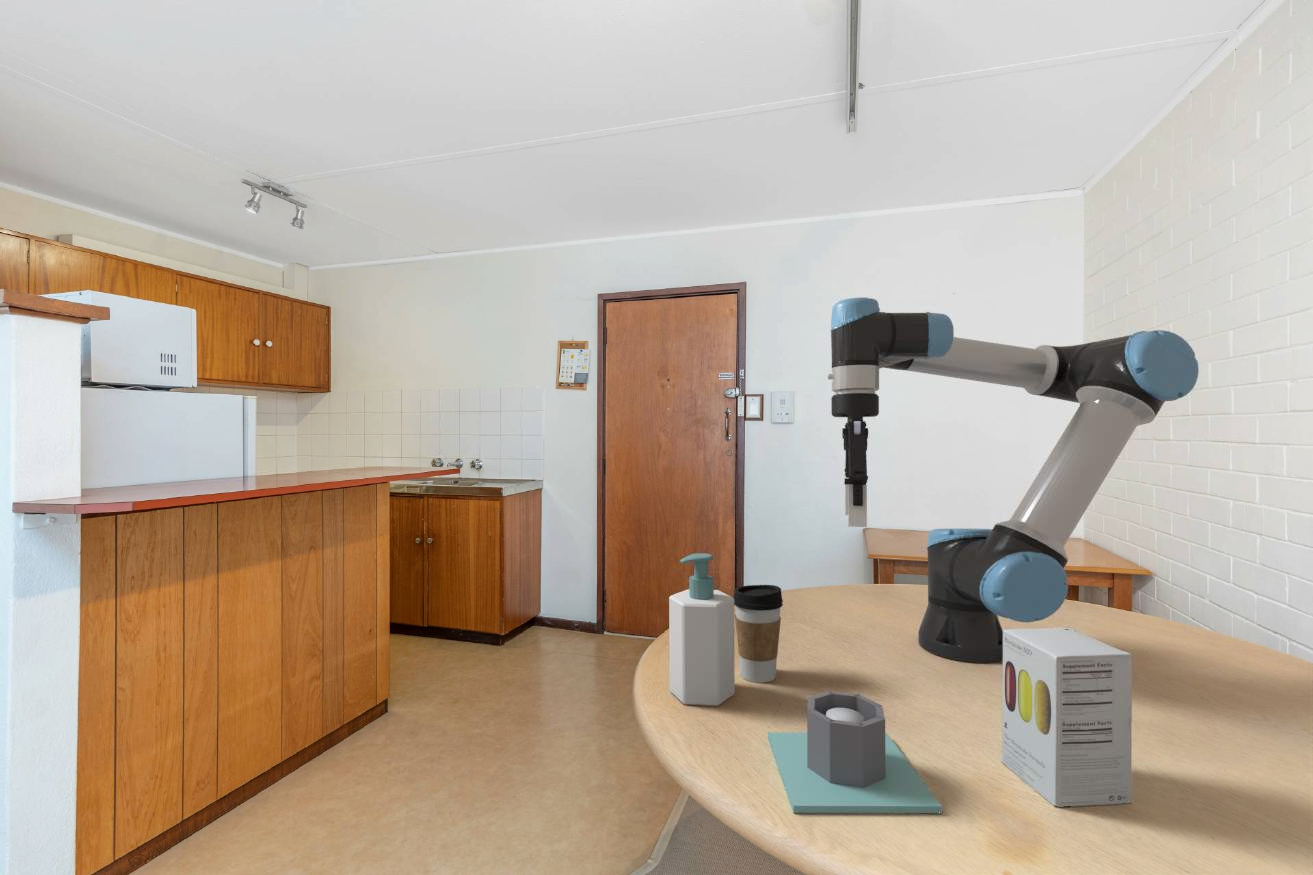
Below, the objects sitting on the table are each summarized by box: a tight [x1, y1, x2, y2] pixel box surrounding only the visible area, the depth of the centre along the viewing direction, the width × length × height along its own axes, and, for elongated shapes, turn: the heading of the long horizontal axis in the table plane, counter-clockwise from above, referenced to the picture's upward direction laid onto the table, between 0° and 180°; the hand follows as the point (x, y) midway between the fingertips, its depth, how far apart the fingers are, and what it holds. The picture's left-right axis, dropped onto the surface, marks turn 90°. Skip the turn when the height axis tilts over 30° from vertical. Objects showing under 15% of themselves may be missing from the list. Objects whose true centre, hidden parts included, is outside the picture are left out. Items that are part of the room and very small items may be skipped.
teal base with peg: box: [767, 708, 943, 815], centre depth 72 cm, size 16×16×7 cm
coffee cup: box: [732, 584, 784, 684], centre depth 101 cm, size 8×8×15 cm
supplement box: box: [1001, 627, 1133, 808], centre depth 70 cm, size 10×9×17 cm
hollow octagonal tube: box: [806, 690, 886, 788], centre depth 72 cm, size 9×9×7 cm
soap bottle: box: [668, 552, 736, 707], centre depth 95 cm, size 10×9×22 cm
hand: (855, 520), depth 99 cm, fingers open, 13 cm apart
